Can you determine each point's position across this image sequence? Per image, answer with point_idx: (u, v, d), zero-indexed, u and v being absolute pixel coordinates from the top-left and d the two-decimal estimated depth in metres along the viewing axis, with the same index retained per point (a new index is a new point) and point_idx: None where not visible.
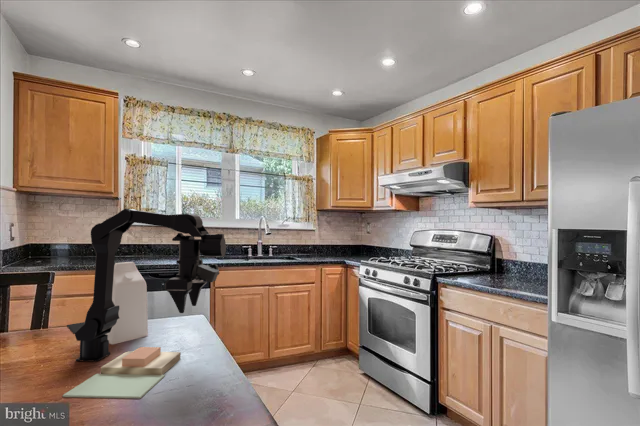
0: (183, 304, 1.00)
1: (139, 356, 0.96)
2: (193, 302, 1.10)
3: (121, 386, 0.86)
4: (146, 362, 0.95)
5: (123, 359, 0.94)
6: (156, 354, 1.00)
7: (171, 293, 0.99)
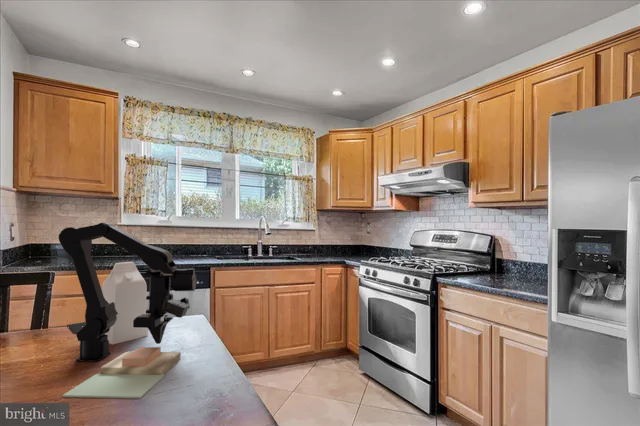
0: (159, 335, 1.07)
1: (139, 356, 0.96)
2: None
3: (121, 386, 0.86)
4: (146, 362, 0.95)
5: (123, 359, 0.94)
6: (156, 354, 1.00)
7: None
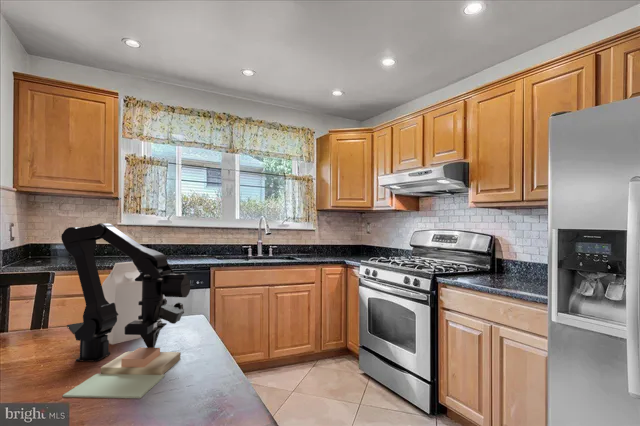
0: (152, 342, 1.03)
1: (138, 356, 0.95)
2: None
3: (121, 386, 0.86)
4: (145, 362, 0.95)
5: (122, 359, 0.94)
6: (156, 354, 1.00)
7: None
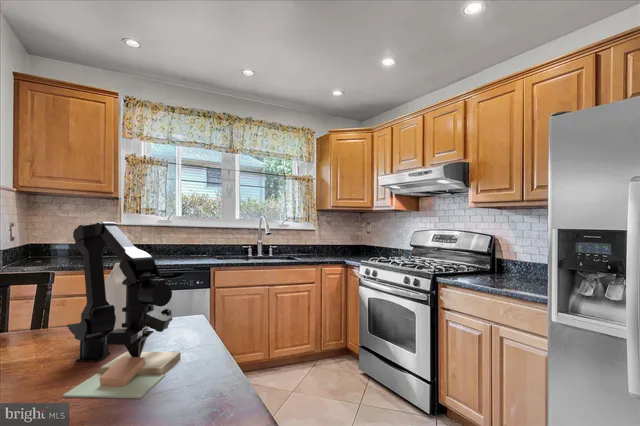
0: (137, 352, 0.94)
1: (118, 374, 0.87)
2: (136, 356, 0.95)
3: (121, 386, 0.86)
4: (126, 381, 0.86)
5: (100, 378, 0.86)
6: (139, 366, 0.92)
7: None
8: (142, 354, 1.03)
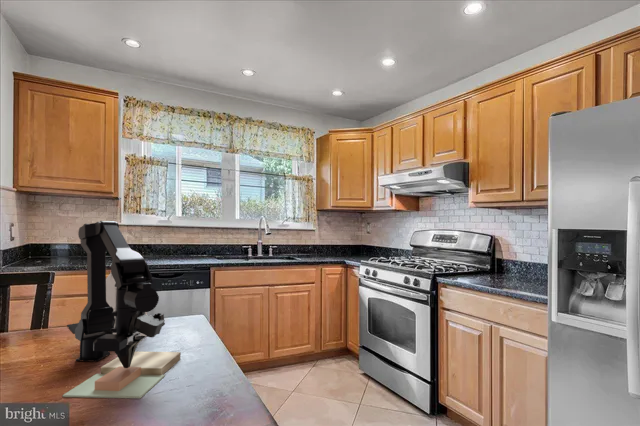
0: (127, 358, 0.90)
1: (114, 378, 0.85)
2: None
3: None
4: (121, 386, 0.84)
5: (96, 382, 0.84)
6: (135, 375, 0.90)
7: None
8: (142, 354, 1.03)
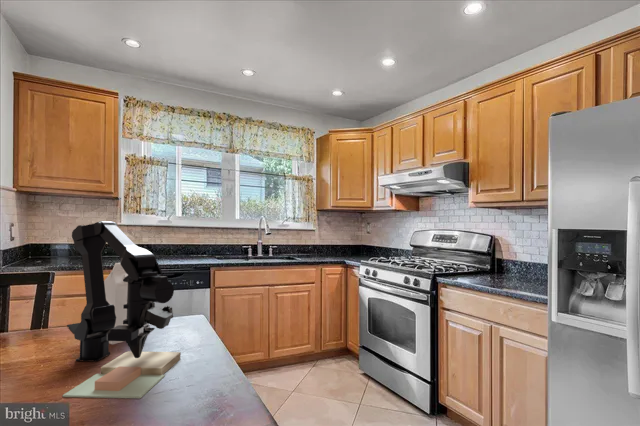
0: (138, 348, 0.95)
1: (114, 378, 0.85)
2: None
3: None
4: (121, 386, 0.84)
5: (96, 382, 0.84)
6: (135, 375, 0.90)
7: None
8: (142, 354, 1.03)
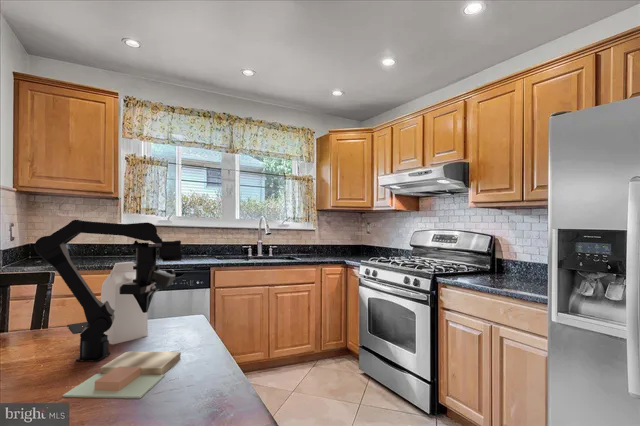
0: (146, 304, 1.10)
1: (114, 378, 0.85)
2: None
3: None
4: (121, 386, 0.84)
5: (96, 382, 0.84)
6: (135, 375, 0.90)
7: (134, 294, 1.09)
8: (142, 354, 1.03)
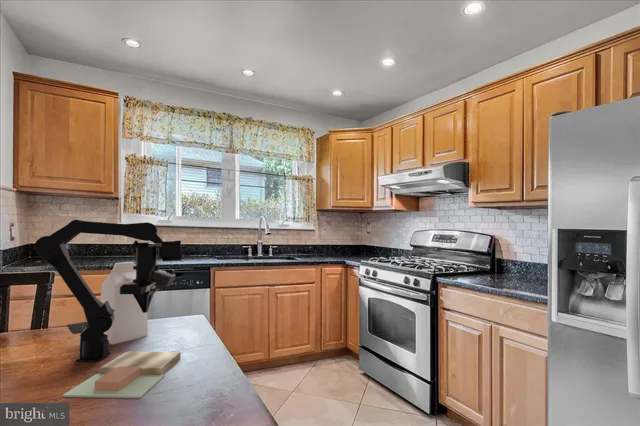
0: (146, 304, 1.10)
1: (114, 378, 0.85)
2: None
3: None
4: (121, 386, 0.84)
5: (96, 382, 0.84)
6: (135, 375, 0.90)
7: (134, 294, 1.09)
8: (142, 354, 1.03)
